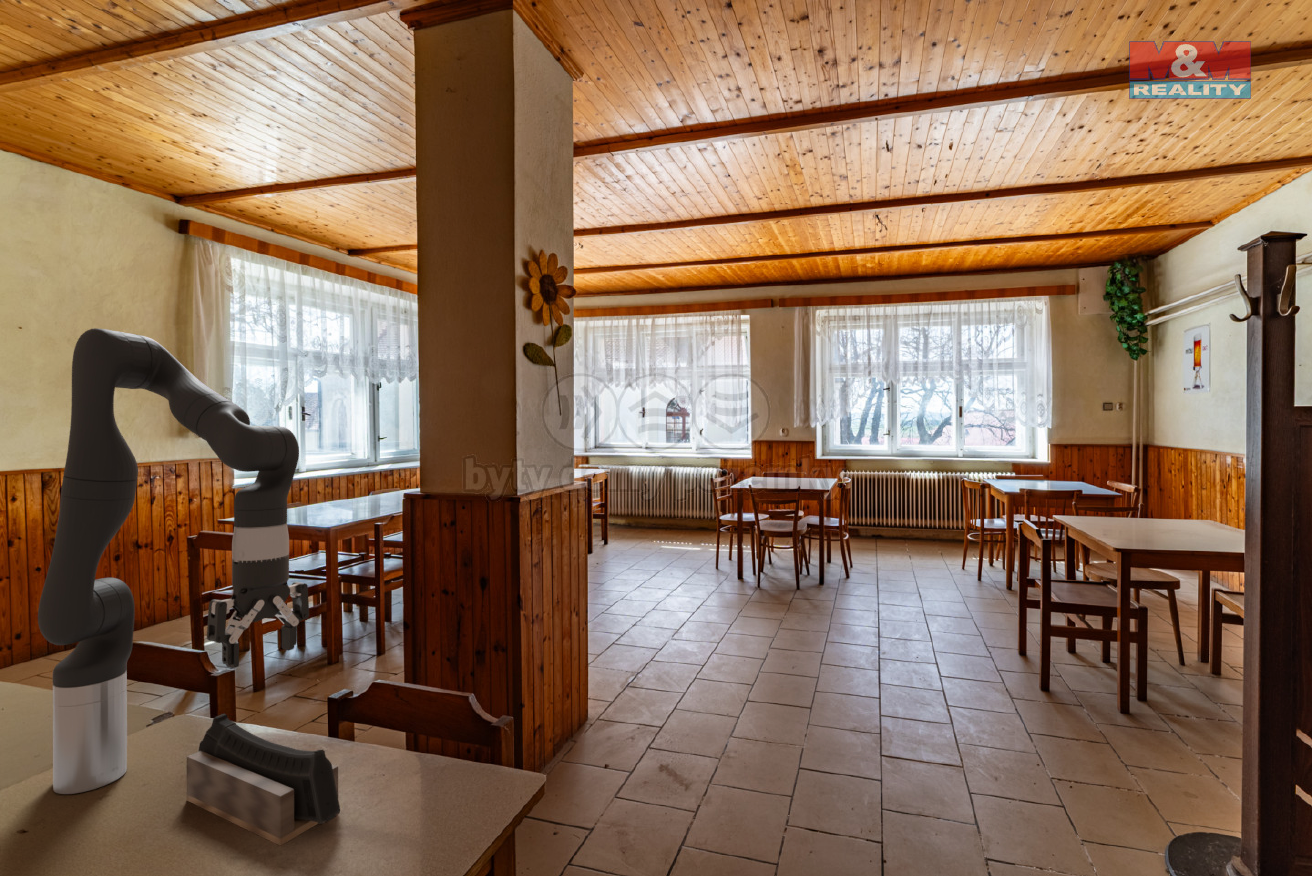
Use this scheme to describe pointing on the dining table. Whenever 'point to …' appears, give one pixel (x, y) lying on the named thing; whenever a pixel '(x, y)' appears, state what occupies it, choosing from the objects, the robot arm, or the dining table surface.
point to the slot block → (245, 797)
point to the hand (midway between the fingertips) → (261, 657)
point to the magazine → (278, 767)
